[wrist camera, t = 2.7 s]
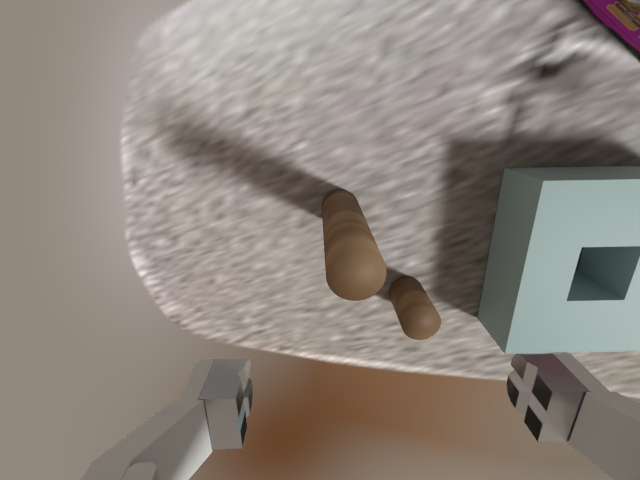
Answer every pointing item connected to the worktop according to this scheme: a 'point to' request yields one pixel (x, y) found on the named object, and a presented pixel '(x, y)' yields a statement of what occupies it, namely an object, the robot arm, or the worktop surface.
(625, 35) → the candy bar box
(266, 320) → the worktop surface
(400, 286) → the short dowel
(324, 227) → the long dowel
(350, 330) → the worktop surface
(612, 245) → the hole block
